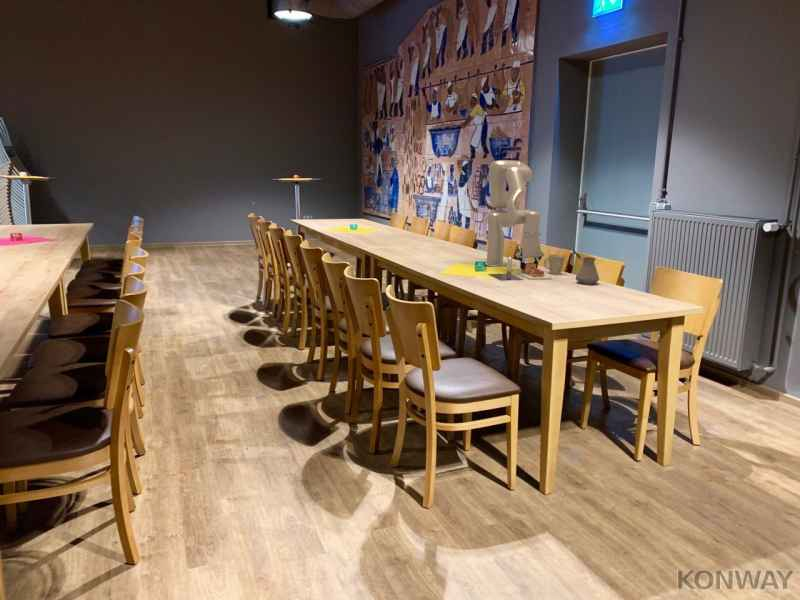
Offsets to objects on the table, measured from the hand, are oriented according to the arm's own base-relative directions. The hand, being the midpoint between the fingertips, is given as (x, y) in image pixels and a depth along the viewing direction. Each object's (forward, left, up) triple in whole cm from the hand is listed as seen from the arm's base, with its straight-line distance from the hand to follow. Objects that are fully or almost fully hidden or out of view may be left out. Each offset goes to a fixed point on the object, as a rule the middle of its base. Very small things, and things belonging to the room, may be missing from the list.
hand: (528, 268), depth 329 cm
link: (+5, 0, -2) cm, 5 cm away
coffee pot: (+16, +22, -4) cm, 28 cm away
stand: (+4, -15, -4) cm, 16 cm away
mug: (-8, +18, -4) cm, 20 cm away
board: (+4, 0, -4) cm, 6 cm away
